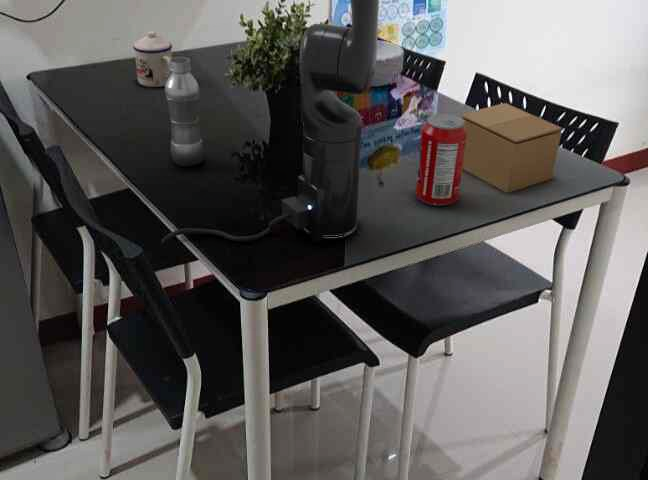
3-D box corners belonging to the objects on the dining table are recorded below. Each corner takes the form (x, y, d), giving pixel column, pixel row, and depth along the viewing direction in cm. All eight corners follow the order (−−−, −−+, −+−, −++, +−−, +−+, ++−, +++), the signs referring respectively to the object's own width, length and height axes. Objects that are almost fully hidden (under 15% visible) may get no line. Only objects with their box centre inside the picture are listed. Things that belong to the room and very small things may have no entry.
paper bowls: (371, 95, 185) (373, 62, 181) (327, 78, 194) (328, 46, 190) (414, 82, 194) (417, 50, 189) (370, 66, 203) (372, 35, 198)
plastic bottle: (173, 171, 149) (163, 67, 137) (169, 157, 154) (159, 55, 143) (207, 168, 151) (200, 64, 139) (202, 154, 156) (195, 53, 144)
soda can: (435, 212, 138) (444, 132, 129) (405, 196, 143) (413, 117, 134) (466, 201, 142) (478, 122, 133) (437, 185, 147) (446, 108, 138)
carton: (453, 163, 155) (460, 113, 149) (497, 151, 161) (505, 102, 155) (506, 193, 145) (516, 140, 139) (551, 178, 151) (562, 127, 145)
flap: (460, 115, 149) (460, 114, 149) (505, 104, 155) (505, 102, 155) (486, 129, 144) (487, 126, 144) (532, 117, 150) (532, 115, 150)
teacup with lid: (129, 80, 190) (123, 31, 183) (161, 72, 195) (156, 24, 188) (158, 94, 183) (153, 43, 176) (189, 85, 188) (186, 35, 181)
